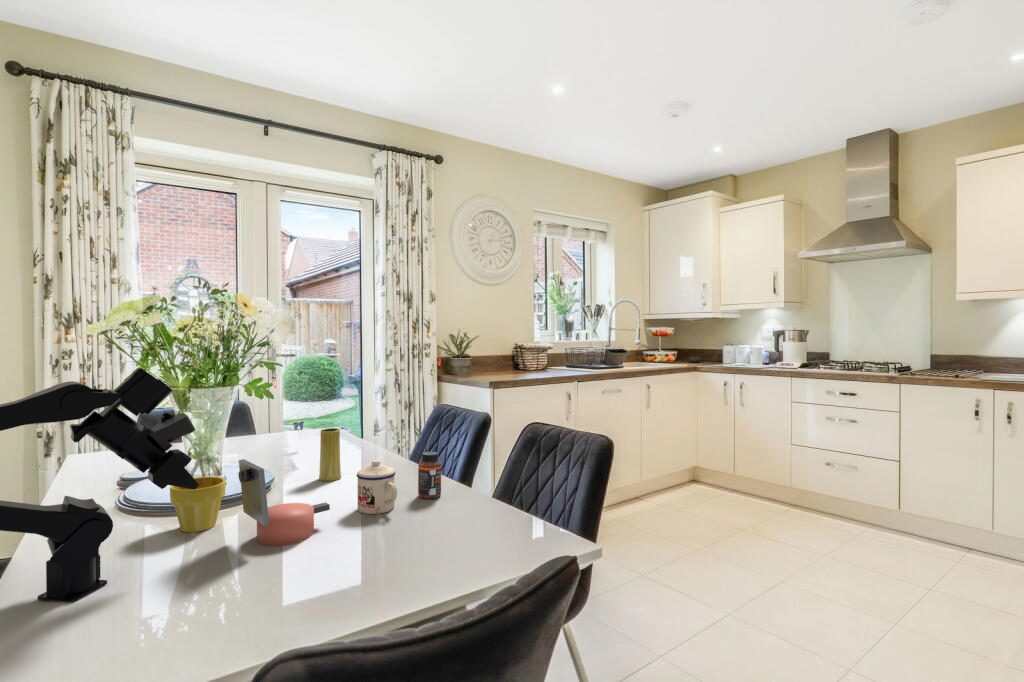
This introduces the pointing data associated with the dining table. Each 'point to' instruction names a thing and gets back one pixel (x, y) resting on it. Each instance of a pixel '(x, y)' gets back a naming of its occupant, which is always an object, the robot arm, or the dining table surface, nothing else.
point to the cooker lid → (253, 491)
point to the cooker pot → (289, 523)
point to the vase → (330, 455)
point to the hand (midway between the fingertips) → (196, 487)
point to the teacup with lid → (376, 488)
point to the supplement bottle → (429, 476)
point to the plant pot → (198, 503)
